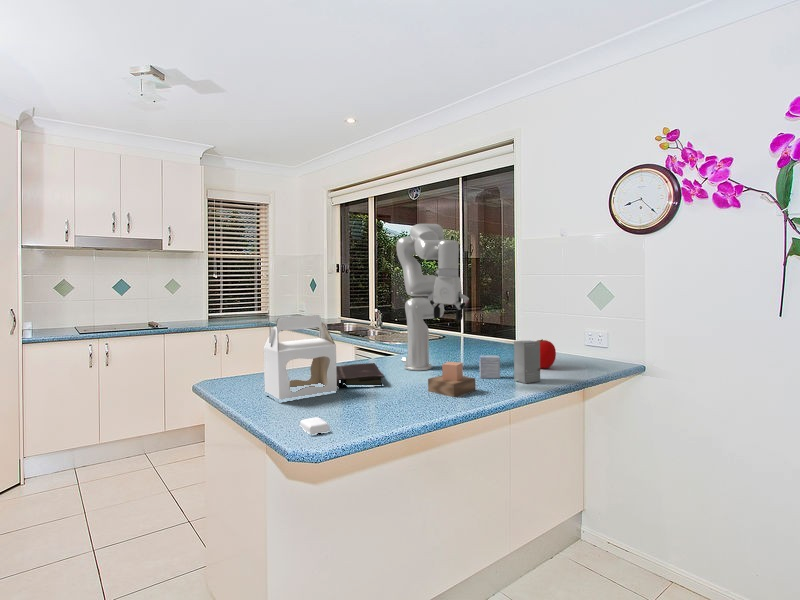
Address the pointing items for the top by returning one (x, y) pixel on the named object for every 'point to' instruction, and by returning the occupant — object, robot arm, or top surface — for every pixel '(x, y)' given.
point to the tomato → (546, 353)
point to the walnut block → (451, 386)
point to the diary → (359, 374)
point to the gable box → (283, 352)
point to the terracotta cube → (452, 371)
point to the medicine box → (489, 367)
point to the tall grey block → (527, 361)
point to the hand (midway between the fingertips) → (447, 319)
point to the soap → (314, 425)
